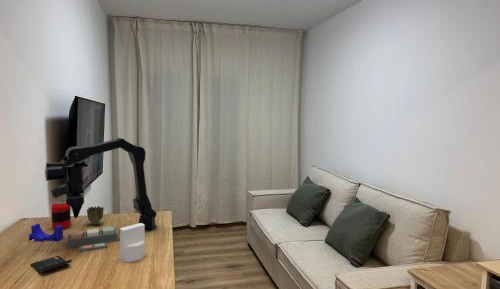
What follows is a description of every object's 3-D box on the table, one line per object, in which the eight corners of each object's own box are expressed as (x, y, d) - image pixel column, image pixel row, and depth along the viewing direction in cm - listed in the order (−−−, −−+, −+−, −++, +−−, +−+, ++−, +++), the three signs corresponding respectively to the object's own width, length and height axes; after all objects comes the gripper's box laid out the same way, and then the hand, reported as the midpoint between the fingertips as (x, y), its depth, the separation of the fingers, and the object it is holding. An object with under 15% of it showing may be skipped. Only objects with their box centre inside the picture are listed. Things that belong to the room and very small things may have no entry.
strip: (106, 244, 137) (106, 242, 137) (107, 247, 134) (107, 245, 134) (79, 248, 132) (79, 246, 132) (79, 251, 130) (79, 249, 129)
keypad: (116, 234, 148) (116, 227, 148) (118, 240, 141) (118, 233, 141) (66, 241, 139) (66, 234, 139) (66, 248, 133) (65, 240, 132)
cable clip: (29, 241, 138) (28, 227, 138) (37, 237, 143) (36, 223, 142) (56, 243, 137) (55, 229, 137) (63, 239, 142) (62, 225, 141)
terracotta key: (82, 235, 140) (82, 230, 140) (82, 239, 136) (82, 234, 136) (71, 237, 138) (70, 231, 138) (70, 241, 134) (70, 235, 134)
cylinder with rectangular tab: (127, 264, 121) (126, 232, 120) (115, 256, 127) (115, 226, 126) (149, 256, 128) (149, 226, 126) (137, 249, 134) (137, 220, 132)
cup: (99, 227, 156) (99, 210, 155) (84, 226, 156) (83, 210, 155) (106, 221, 163) (106, 206, 162) (91, 221, 163) (91, 205, 162)
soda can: (73, 224, 159) (72, 199, 157) (66, 230, 151) (66, 204, 150) (56, 224, 158) (55, 200, 156) (49, 230, 150) (48, 204, 149)
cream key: (98, 233, 143) (98, 228, 143) (98, 237, 139) (98, 231, 139) (86, 235, 141) (86, 229, 141) (87, 239, 137) (87, 233, 137)
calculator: (58, 257, 125) (58, 249, 125) (71, 267, 118) (71, 259, 117) (30, 266, 118) (29, 258, 118) (42, 277, 111) (42, 269, 110)
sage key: (113, 231, 146) (113, 226, 145) (114, 235, 142) (114, 230, 142) (102, 233, 144) (102, 227, 143) (102, 236, 140) (102, 231, 140)
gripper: (54, 174, 139) (55, 210, 141) (50, 184, 123) (51, 225, 124) (83, 173, 144) (84, 207, 146) (83, 182, 128) (84, 221, 129)
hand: (76, 215), depth 136 cm, fingers open, 7 cm apart
